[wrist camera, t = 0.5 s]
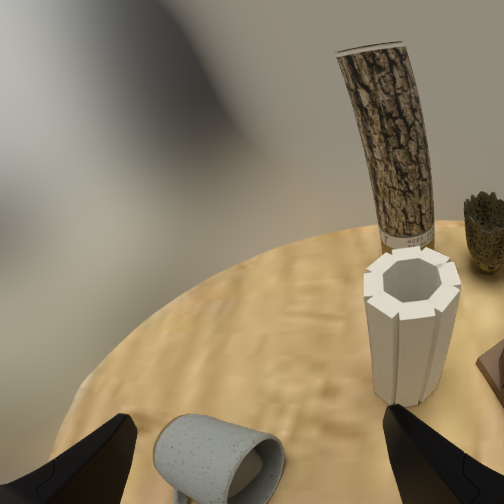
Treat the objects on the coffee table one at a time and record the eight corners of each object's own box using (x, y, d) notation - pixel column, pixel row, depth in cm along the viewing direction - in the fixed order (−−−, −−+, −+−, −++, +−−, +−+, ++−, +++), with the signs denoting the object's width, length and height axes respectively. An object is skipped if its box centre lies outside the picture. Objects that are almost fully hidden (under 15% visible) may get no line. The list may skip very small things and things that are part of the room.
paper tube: (434, 243, 33) (404, 41, 20) (433, 280, 29) (403, 40, 16) (387, 242, 37) (343, 51, 24) (378, 277, 33) (326, 53, 20)
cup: (450, 273, 28) (453, 214, 24) (472, 240, 30) (475, 185, 26) (502, 297, 22) (516, 235, 18) (518, 258, 24) (528, 201, 20)
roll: (450, 371, 20) (475, 269, 13) (405, 419, 18) (419, 337, 12) (405, 338, 25) (403, 237, 18) (360, 379, 23) (343, 286, 17)
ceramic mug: (216, 426, 24) (171, 391, 20) (294, 450, 20) (263, 421, 16) (168, 512, 17) (108, 495, 13) (243, 551, 13) (191, 555, 9)
